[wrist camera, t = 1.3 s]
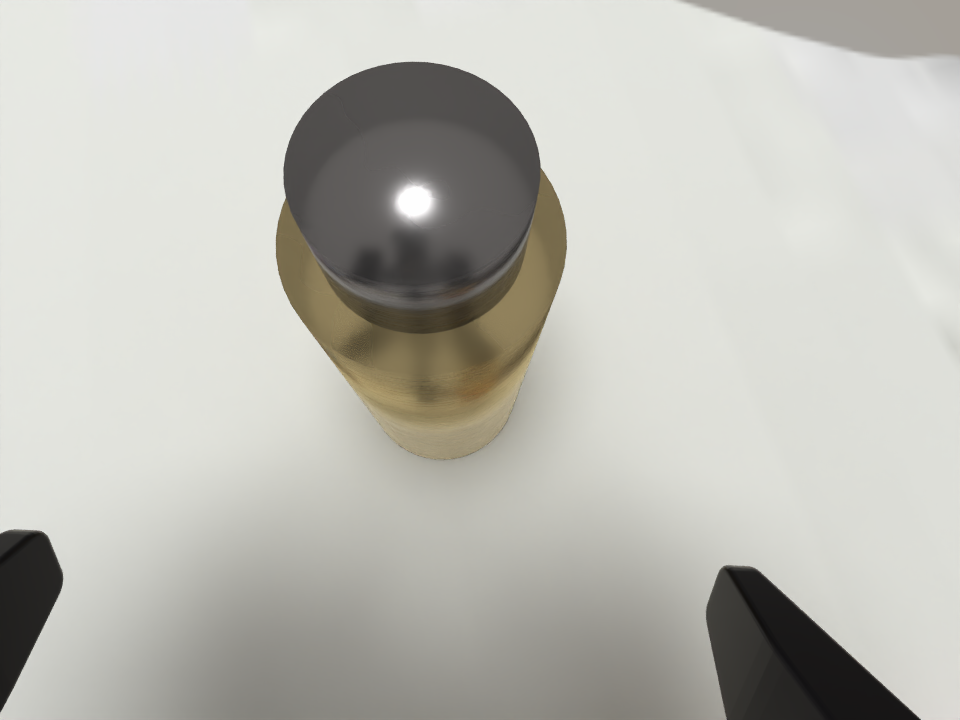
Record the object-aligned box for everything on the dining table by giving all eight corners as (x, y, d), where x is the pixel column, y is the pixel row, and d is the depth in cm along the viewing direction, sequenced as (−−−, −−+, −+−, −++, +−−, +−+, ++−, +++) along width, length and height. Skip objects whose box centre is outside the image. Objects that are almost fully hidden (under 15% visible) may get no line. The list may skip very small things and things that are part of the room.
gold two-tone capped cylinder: (542, 409, 21) (661, 219, 8) (417, 488, 20) (341, 407, 7) (466, 295, 22) (469, -23, 9) (345, 365, 21) (172, 115, 9)
